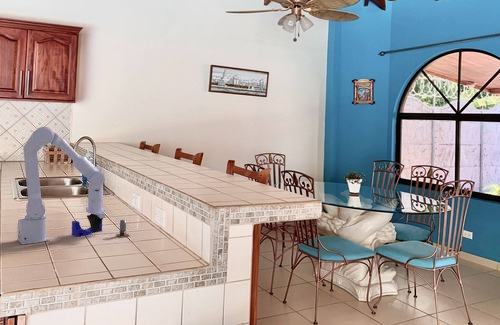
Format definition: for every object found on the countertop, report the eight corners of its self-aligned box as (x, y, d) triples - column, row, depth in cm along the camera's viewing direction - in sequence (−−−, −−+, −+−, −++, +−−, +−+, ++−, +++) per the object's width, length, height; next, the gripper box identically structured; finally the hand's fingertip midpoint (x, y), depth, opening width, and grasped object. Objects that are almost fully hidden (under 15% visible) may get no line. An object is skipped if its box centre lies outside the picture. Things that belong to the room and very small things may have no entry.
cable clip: (77, 237, 161) (77, 223, 161) (71, 235, 164) (71, 221, 163) (104, 232, 171) (104, 218, 170) (97, 230, 173) (98, 216, 173)
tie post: (120, 237, 163) (120, 222, 163) (116, 235, 166) (116, 220, 166) (129, 236, 166) (129, 220, 165) (125, 234, 169) (125, 218, 168)
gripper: (112, 201, 161) (112, 234, 162) (97, 196, 171) (97, 227, 173) (95, 203, 156) (94, 237, 157) (81, 197, 167) (80, 229, 168)
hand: (95, 232), depth 165 cm, fingers closed
